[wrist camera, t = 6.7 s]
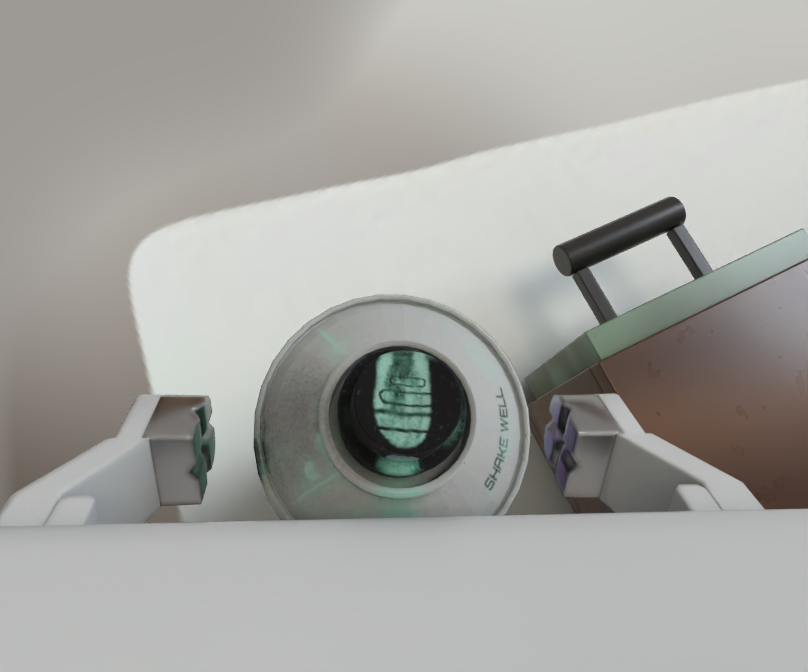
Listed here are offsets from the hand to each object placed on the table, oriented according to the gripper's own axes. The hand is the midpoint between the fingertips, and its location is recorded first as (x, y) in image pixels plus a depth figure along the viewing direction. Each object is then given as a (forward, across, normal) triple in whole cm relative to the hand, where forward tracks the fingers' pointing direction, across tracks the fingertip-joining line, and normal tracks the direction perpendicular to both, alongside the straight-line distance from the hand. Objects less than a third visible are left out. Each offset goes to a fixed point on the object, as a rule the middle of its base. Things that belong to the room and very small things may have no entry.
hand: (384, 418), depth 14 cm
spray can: (+10, 0, +11) cm, 15 cm away
